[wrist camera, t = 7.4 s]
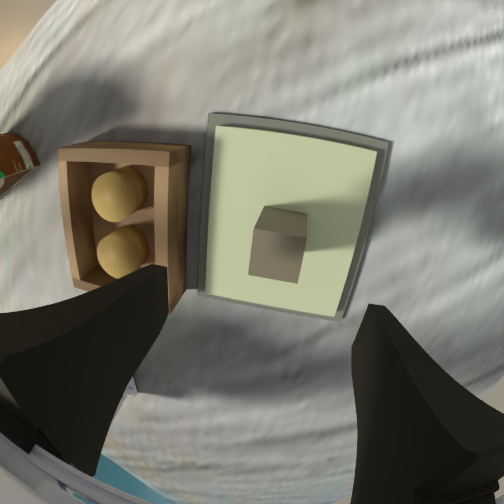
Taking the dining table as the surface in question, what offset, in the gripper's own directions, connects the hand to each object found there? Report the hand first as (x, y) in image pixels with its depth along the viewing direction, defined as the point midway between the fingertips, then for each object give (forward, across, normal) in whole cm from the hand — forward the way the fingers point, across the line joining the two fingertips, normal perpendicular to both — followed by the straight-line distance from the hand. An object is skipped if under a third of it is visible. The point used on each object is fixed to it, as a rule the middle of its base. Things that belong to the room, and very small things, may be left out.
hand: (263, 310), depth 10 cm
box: (+8, +10, +1) cm, 13 cm away
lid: (+8, 0, 0) cm, 8 cm away
